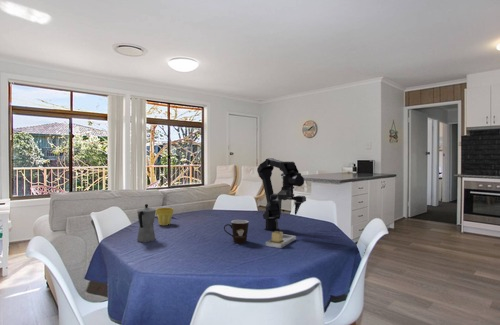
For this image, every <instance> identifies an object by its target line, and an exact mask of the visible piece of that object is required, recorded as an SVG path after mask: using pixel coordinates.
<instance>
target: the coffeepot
mask: <svg viewBox="0 0 500 325" xmlns="http://www.w3.org/2000/svg"><path fill="white" fill-rule="evenodd" d="M148 206H149V204H147V203H146V204H145V205H144V207H143V208H140V209H137V210H136V211H137V212H136V213H137V219H138V224H139V227H138V232H137V238H136V241H137V242H138V243H148V242H154V241H155V240H156V235H155V234H156V233H155V229H154V223H155V218H156V209H155V208H152V207H151V208H150V207H148Z"/></svg>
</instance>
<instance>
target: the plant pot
mask: <svg viewBox="0 0 500 325" xmlns="http://www.w3.org/2000/svg"><path fill="white" fill-rule="evenodd" d="M155 210H156V212H155V216H157V220H158V225H159V226H168V224H169V225H171V221H172V217H173V214H174V208H172V207H159V208H156V209H155Z"/></svg>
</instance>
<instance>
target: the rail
mask: <svg viewBox="0 0 500 325" xmlns="http://www.w3.org/2000/svg"><path fill="white" fill-rule="evenodd" d="M296 239H297V235H292V234H285V233H283V242H281V243H274V242H272V238H270V239H268V240H267V241H265V247H270V248H271V247H272V248H276V249H283V248H284V247H285V246H288V245H289V244H291V243H292V242H294V241H296Z"/></svg>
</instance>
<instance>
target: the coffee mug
mask: <svg viewBox="0 0 500 325" xmlns="http://www.w3.org/2000/svg"><path fill="white" fill-rule="evenodd" d="M223 226H224V227H223V230H224V232H225V233H226V234H227V235H229V236H231V237H232V241H233V243H235V244H246V242H247V239H248V231H249V220H246V219H234V220H231V224H229V223H228V224H227V223H226V224H225V225H223ZM227 226H229V227H230V228H231V230H232V233H229V232H228V231H227V230H226V227H227Z"/></svg>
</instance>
